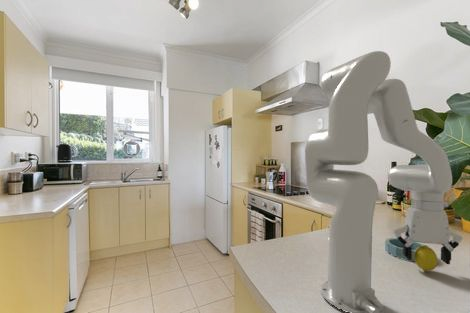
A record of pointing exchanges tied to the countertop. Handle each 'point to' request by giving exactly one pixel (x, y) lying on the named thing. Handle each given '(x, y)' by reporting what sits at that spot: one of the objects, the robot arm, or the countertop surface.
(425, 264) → the lemon
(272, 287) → the countertop surface
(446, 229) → the robot arm
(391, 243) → the bowl
